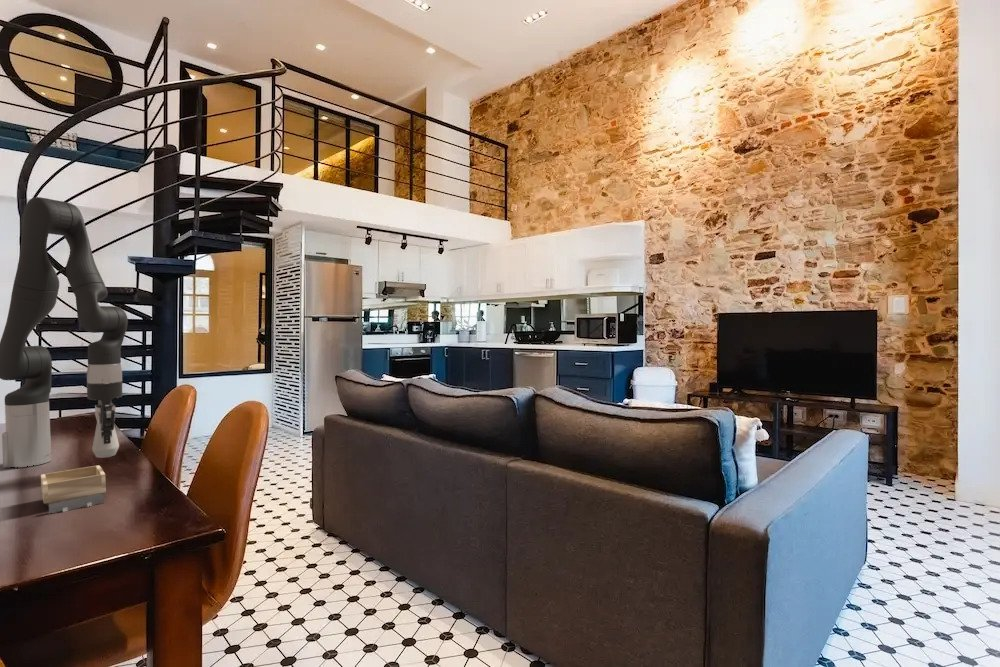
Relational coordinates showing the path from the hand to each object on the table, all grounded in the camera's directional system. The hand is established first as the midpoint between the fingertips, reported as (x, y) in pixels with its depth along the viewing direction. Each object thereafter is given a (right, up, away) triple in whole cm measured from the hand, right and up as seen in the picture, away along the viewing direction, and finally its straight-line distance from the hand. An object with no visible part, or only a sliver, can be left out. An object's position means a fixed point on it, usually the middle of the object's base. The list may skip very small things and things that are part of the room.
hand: (105, 443), depth 138 cm
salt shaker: (0, -3, 0) cm, 3 cm away
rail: (+7, -7, -19) cm, 21 cm away
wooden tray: (+11, -7, -23) cm, 27 cm away
